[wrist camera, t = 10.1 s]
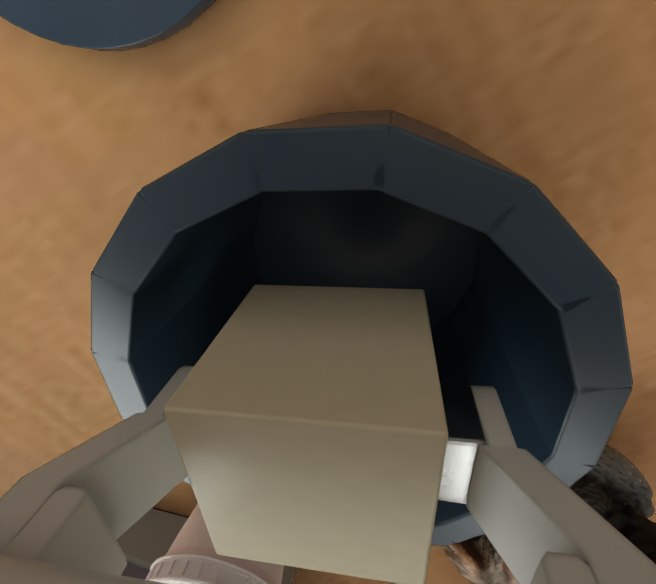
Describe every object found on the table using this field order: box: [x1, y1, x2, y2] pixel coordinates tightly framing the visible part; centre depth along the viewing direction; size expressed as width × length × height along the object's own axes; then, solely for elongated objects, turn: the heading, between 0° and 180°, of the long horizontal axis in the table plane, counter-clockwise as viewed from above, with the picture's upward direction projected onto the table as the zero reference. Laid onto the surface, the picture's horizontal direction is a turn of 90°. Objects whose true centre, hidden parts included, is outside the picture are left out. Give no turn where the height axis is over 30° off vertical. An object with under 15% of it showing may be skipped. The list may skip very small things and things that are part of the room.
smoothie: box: [145, 503, 284, 584], centre depth 18 cm, size 6×6×14 cm
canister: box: [91, 110, 633, 546], centre depth 12 cm, size 12×12×10 cm
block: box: [164, 285, 448, 584], centre depth 8 cm, size 4×4×4 cm
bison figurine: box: [441, 445, 656, 584], centre depth 17 cm, size 12×7×10 cm, turn 127°
